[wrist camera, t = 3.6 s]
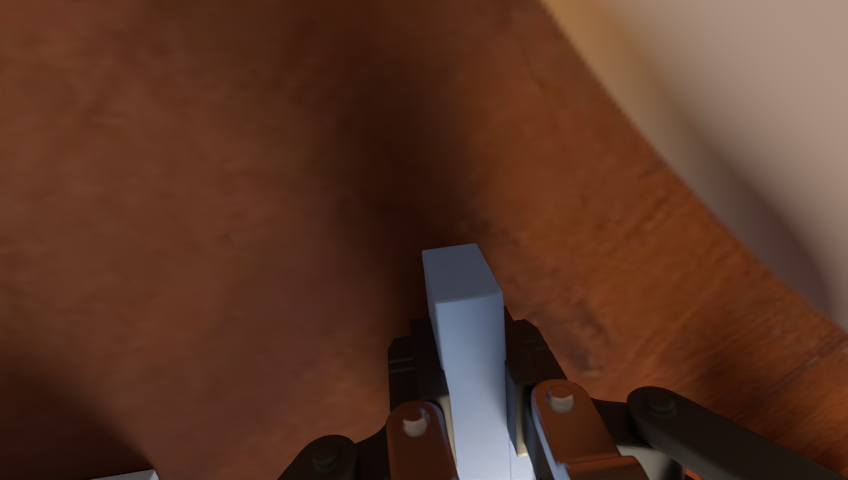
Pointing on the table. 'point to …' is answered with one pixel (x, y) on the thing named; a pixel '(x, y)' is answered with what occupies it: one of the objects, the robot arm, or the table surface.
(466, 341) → the blue spoon
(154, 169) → the table surface
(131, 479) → the blue tray
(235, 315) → the table surface
